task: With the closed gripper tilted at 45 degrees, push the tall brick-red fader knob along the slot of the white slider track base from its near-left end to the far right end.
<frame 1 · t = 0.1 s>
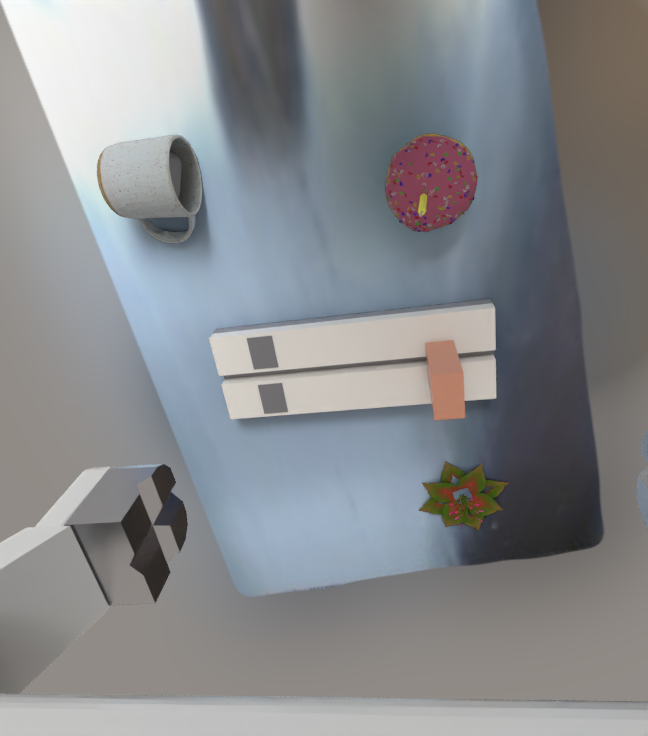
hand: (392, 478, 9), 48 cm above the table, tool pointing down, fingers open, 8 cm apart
fader: (443, 374, 53), point 7 cm above the table, slide at 0.0 cm
white slider track base: (353, 357, 61), on the table
cupcake: (426, 178, 51), on the table
lily flower: (461, 492, 69), on the table
ceramic mug: (171, 188, 55), on the table
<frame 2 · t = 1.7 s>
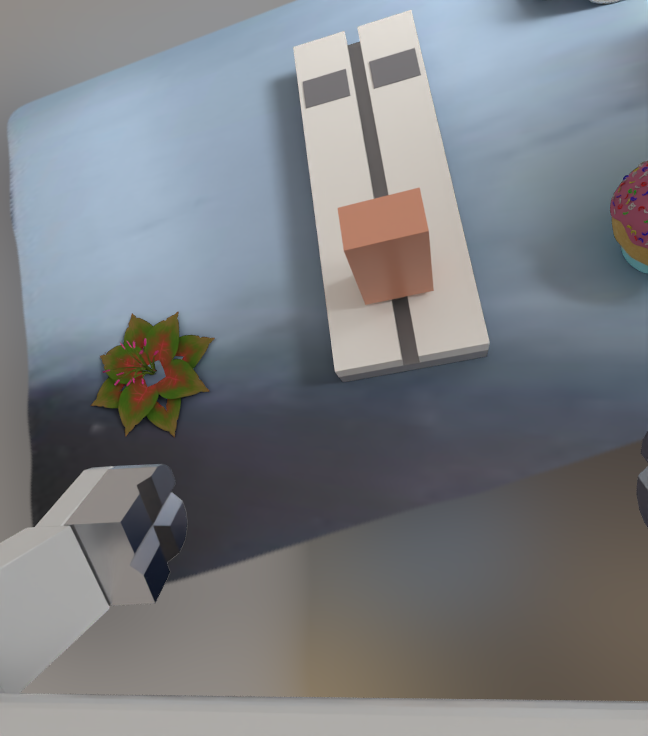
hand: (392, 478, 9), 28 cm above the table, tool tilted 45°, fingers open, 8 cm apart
fader: (391, 259, 34), point 7 cm above the table, slide at 0.0 cm
white slider track base: (381, 195, 44), on the table
lily flower: (157, 374, 45), on the table
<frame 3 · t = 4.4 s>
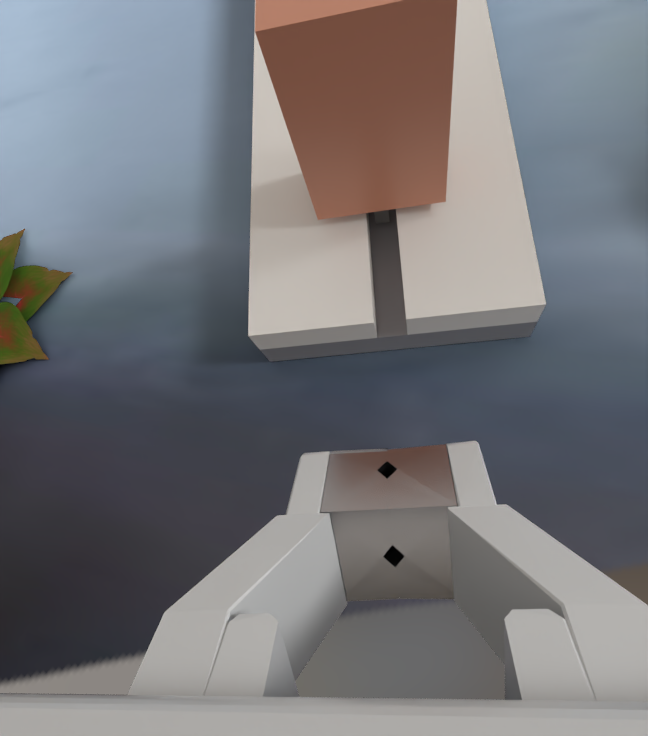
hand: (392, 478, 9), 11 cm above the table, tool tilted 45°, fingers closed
fader: (369, 119, 17), point 7 cm above the table, slide at 0.0 cm
white slider track base: (371, 70, 27), on the table
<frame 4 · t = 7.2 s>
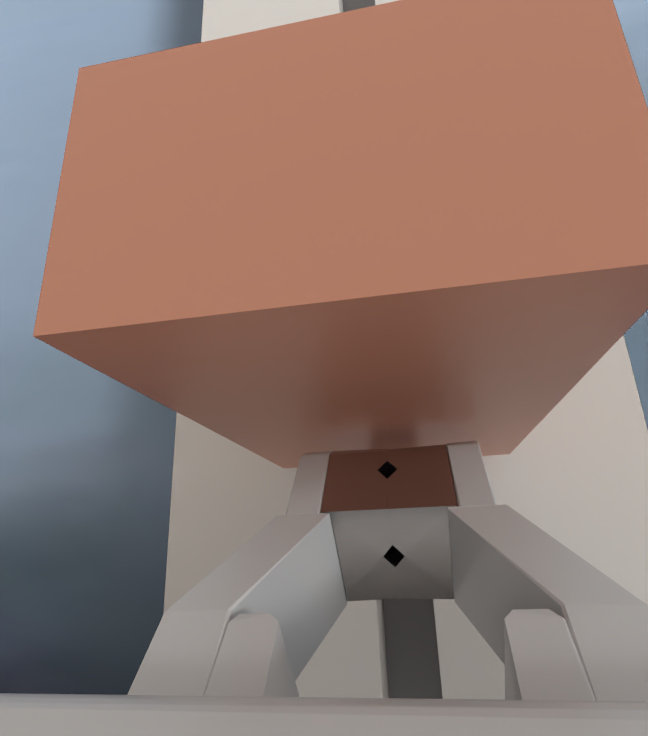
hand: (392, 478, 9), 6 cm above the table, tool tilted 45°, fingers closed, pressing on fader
fader: (375, 349, 9), point 7 cm above the table, slide at 1.0 cm, touching gripper
white slider track base: (374, 179, 18), on the table
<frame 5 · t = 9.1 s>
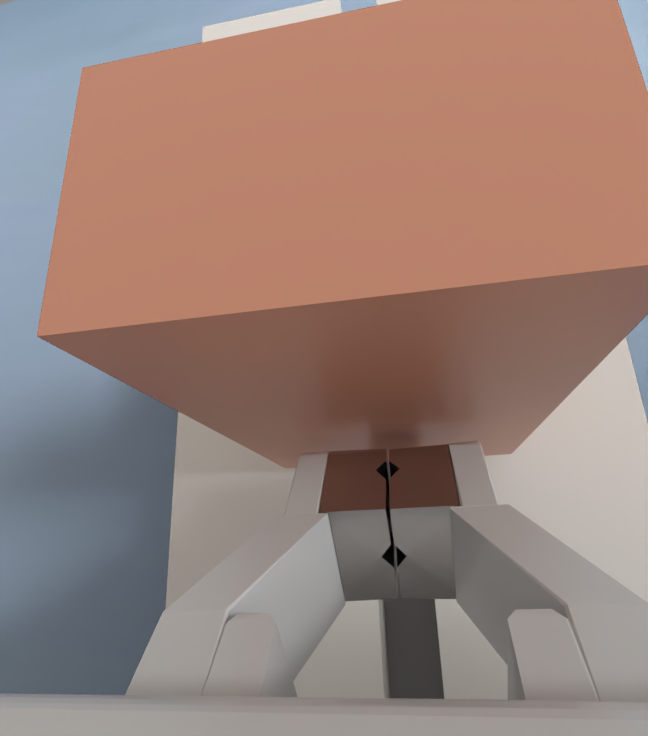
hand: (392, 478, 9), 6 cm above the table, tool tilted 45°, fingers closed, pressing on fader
fader: (377, 348, 9), point 7 cm above the table, slide at 11.8 cm, touching gripper
white slider track base: (401, 489, 14), on the table
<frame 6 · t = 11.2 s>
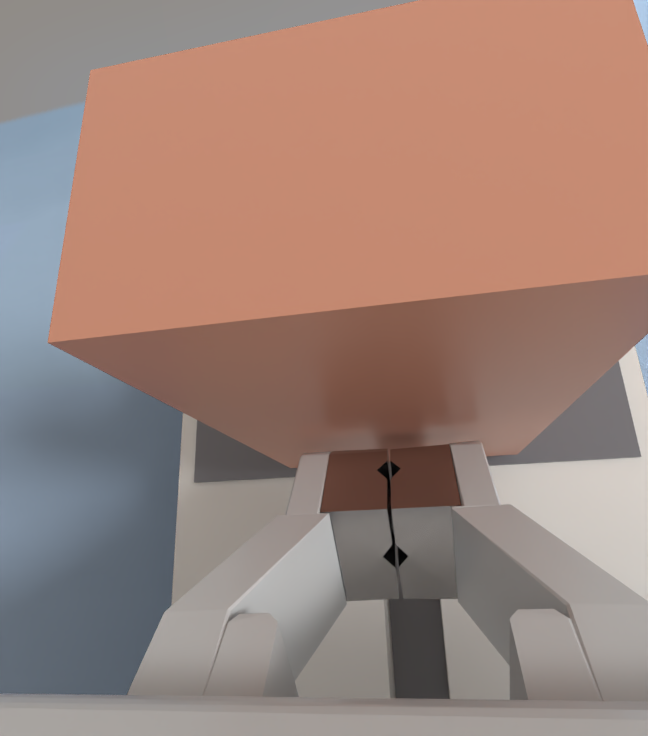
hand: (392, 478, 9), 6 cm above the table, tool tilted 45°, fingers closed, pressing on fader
fader: (383, 349, 9), point 7 cm above the table, slide at 20.1 cm, touching gripper
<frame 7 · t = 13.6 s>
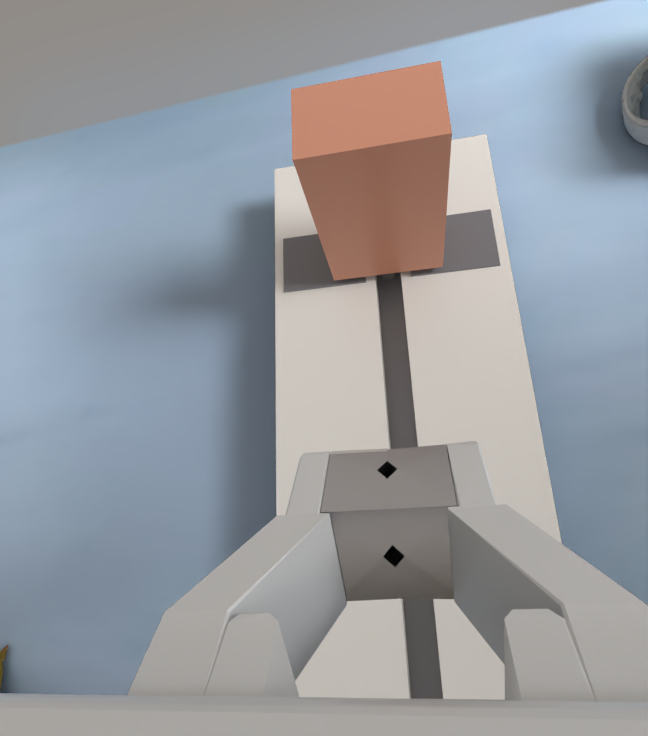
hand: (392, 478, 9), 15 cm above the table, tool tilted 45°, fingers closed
fader: (379, 204, 21), point 7 cm above the table, slide at 20.0 cm
white slider track base: (407, 471, 24), on the table
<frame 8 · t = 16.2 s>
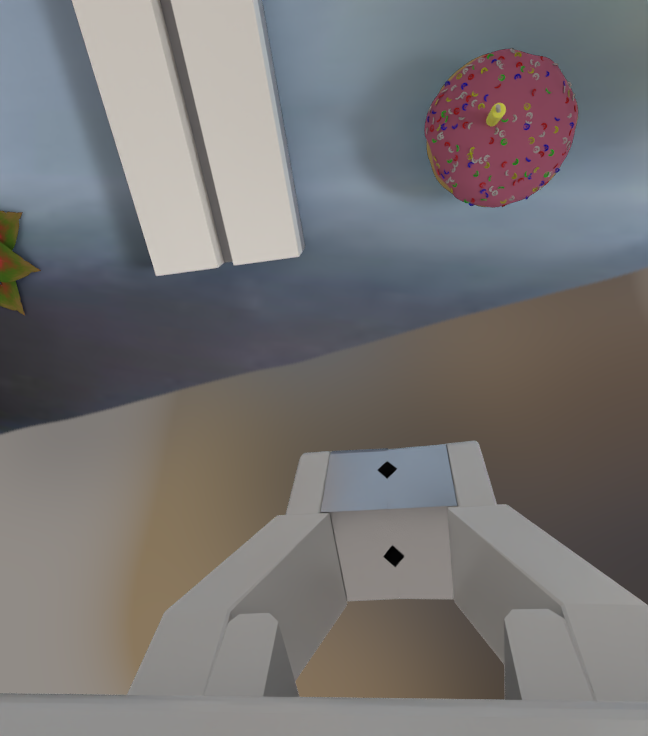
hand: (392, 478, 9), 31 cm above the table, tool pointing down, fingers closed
white slider track base: (180, 14, 33), on the table
cupcake: (485, 130, 34), on the table
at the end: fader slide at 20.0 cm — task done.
